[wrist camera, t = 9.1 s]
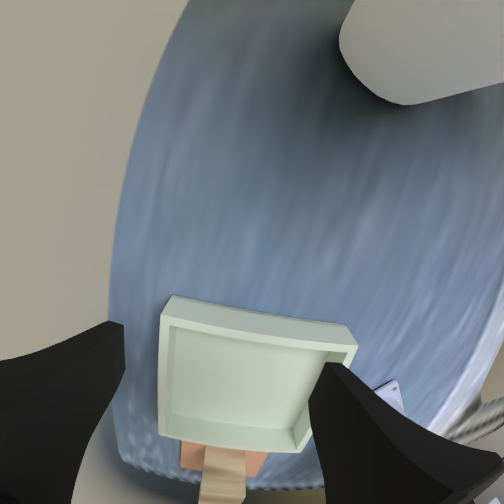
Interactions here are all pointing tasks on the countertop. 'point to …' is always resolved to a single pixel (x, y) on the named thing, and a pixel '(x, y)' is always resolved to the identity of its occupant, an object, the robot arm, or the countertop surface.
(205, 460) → the birch block
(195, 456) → the terracotta tile
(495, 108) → the countertop surface
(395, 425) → the robot arm
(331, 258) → the countertop surface
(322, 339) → the pale green bin
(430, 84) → the cup
